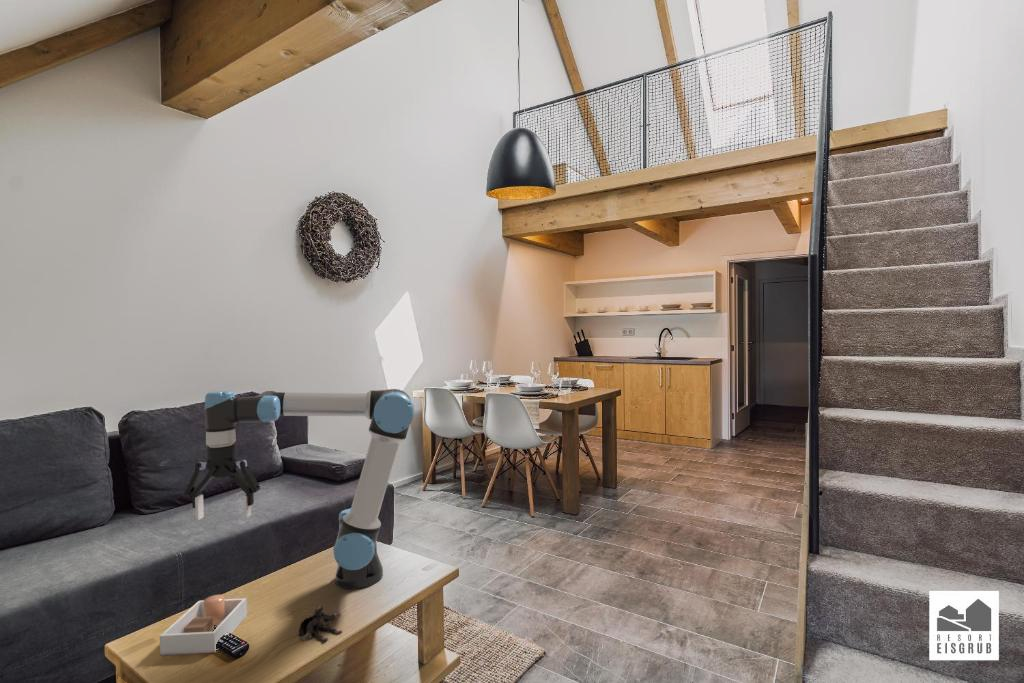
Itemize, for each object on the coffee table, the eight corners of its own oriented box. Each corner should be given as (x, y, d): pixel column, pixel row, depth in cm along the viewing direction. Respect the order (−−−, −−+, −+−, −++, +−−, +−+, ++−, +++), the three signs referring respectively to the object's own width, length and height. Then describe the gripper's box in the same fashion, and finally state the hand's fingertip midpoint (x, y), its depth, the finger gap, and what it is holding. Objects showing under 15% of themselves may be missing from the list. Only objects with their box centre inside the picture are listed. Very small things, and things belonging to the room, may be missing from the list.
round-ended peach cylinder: (219, 628, 142) (218, 603, 142) (200, 629, 142) (199, 604, 142) (228, 618, 147) (227, 594, 147) (210, 619, 147) (209, 595, 147)
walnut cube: (204, 645, 134) (203, 626, 134) (184, 647, 134) (183, 628, 134) (214, 634, 139) (213, 616, 139) (195, 636, 139) (194, 617, 139)
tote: (247, 615, 149) (246, 598, 149) (214, 652, 132) (214, 633, 132) (199, 617, 149) (198, 600, 149) (160, 655, 131) (159, 635, 131)
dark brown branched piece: (312, 645, 132) (294, 606, 139) (304, 667, 136) (287, 628, 143) (354, 625, 141) (335, 589, 147) (345, 646, 145) (327, 610, 151)
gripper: (270, 440, 153) (273, 511, 153) (184, 443, 152) (187, 514, 152) (259, 445, 146) (261, 520, 146) (169, 449, 145) (171, 524, 145)
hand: (223, 517), depth 149 cm, fingers open, 13 cm apart
